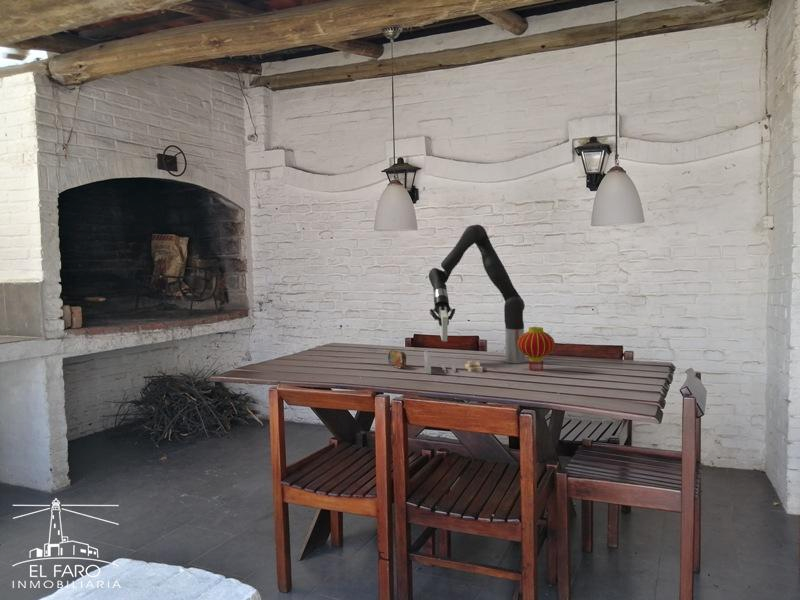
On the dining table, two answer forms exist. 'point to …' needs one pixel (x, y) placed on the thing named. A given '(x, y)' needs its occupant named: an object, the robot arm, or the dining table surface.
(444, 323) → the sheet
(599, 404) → the dining table surface
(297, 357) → the dining table surface
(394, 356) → the tin
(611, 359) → the dining table surface
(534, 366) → the lantern
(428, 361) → the rack
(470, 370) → the offcuts
